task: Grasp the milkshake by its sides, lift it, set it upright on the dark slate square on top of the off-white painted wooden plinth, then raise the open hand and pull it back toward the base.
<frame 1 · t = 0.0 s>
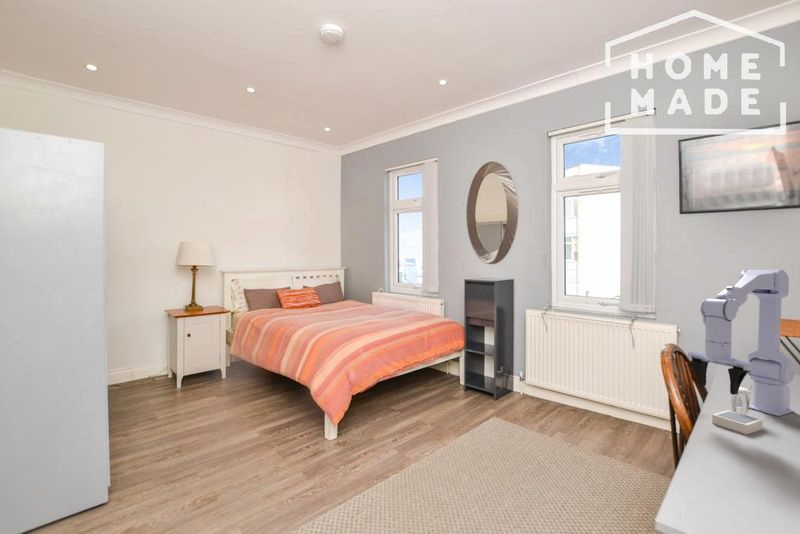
hand: (717, 389, 108), 10 cm above the table, tool pointing down, fingers open, 7 cm apart
plinth: (736, 426, 108), on the table
milkshake: (741, 418, 114), on the table
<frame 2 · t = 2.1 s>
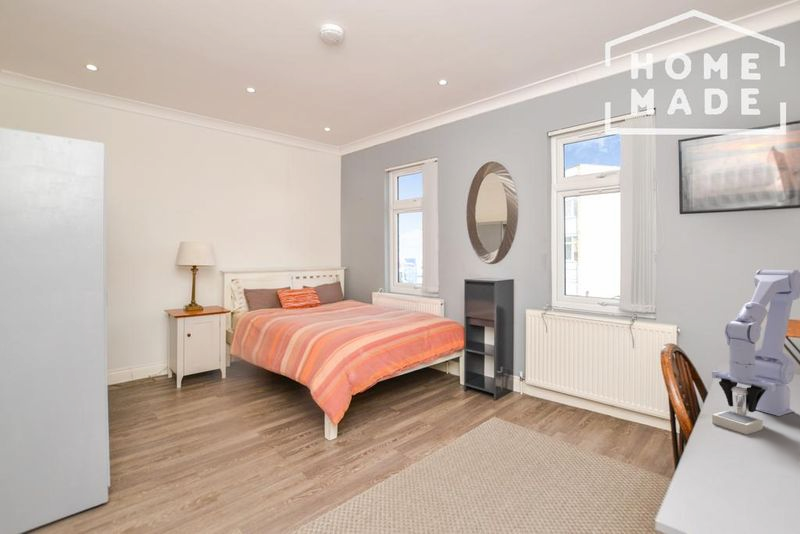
hand: (741, 408, 114), 3 cm above the table, tool pointing down, fingers closed on milkshake, 4 cm apart
milkshake: (741, 418, 114), on the table, touching gripper
when the fingers open (7 cm above the table, at t = 5.0 s): milkshake stays where it is, resting on plinth.
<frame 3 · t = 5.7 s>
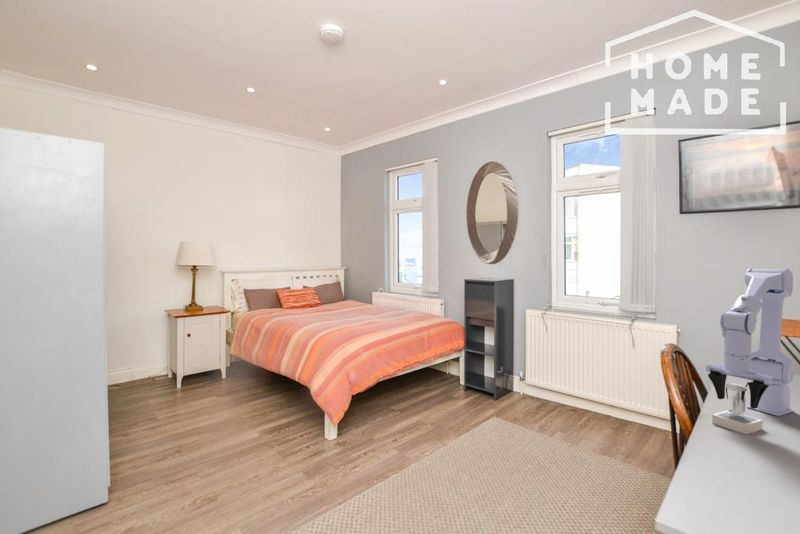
hand: (737, 403, 108), 7 cm above the table, tool pointing down, fingers open, 7 cm apart
milkshake: (737, 417, 108), point 2 cm above the table, touching plinth
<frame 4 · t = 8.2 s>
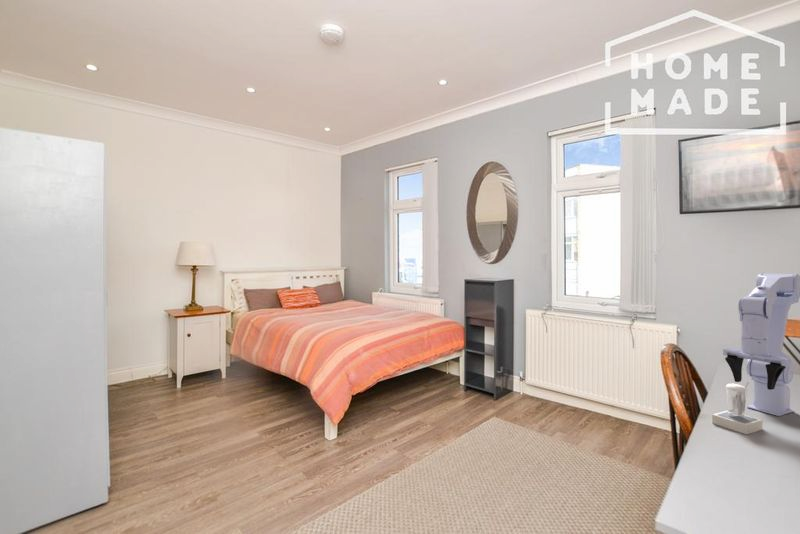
hand: (753, 385, 112), 10 cm above the table, tool pointing down, fingers open, 7 cm apart
nothing on the table moved.
at the end: milkshake 0.3 cm off-centre on the plinth, point 2.4 cm above the plinth's base; milkshake tilted 0°; the gripper is holding nothing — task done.
